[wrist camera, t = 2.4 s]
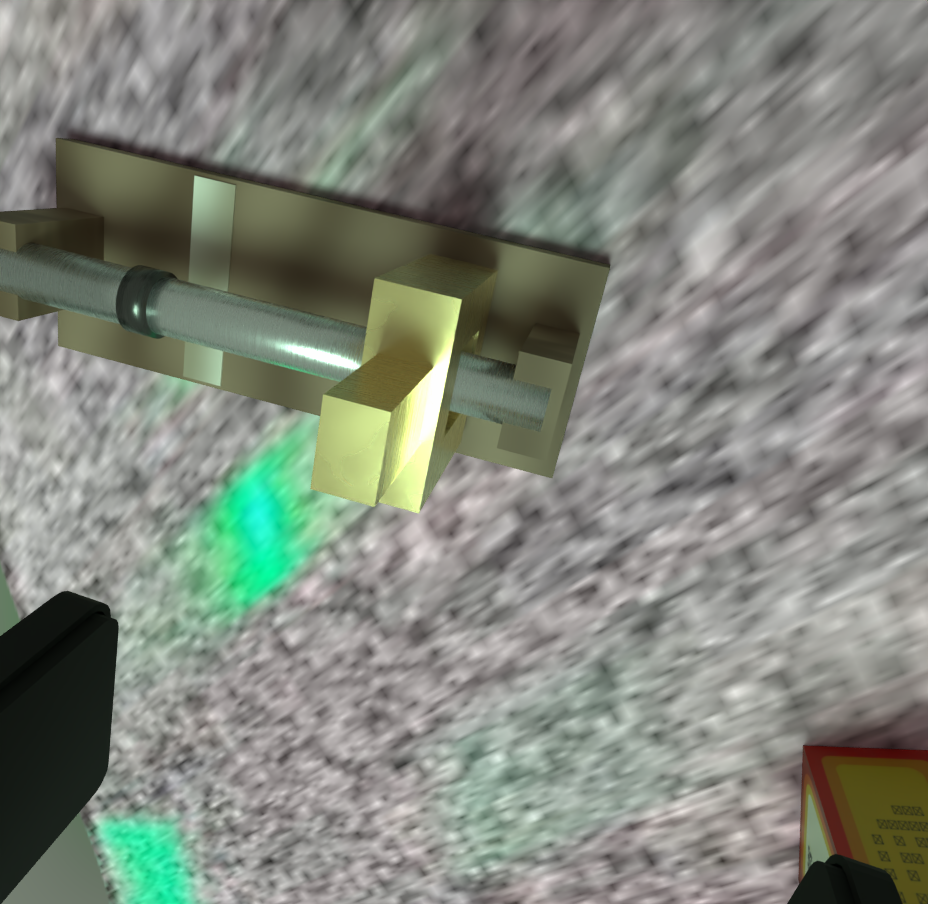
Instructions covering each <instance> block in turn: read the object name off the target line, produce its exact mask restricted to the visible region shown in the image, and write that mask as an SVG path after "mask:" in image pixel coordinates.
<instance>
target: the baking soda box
mask: <svg viewBox="0 0 928 904" xmlns="http://www.w3.org/2000/svg"><path fill="white" fill-rule="evenodd" d="M834 854H839V855H842V856H845V857H848V858H851V859H854V860H857V861H860V862H863V863H866V864H869V865H872V866H875V867H878V868H881V869H883V870H885V871H886V872H887V873H889V874H890V876H891V877H892V879H893V881H894V883H895V885H896V888H897V890H898V893H899V896H900V898H901V901H902V903H903V904H928V750H906V749H879V748H853V747H827V746H803V763H802V792H801V821H800V850H799V879H798V880H799V884H800V882H801V880H802V879H803V877H804V876H805V874H806V872H807V871H808V869H809V867H810V866H811V865H812V864H813V862H815V861H821V862H824V863H825V862H826V860H827V859H828V858H829V857H830V856H832V855H834Z"/></svg>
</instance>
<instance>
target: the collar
mask: <svg viewBox="0 0 928 904" xmlns="http://www.w3.org/2000/svg"><path fill="white" fill-rule="evenodd" d="M497 275H498V270H496V269H491V268H487V267H483V266H479V265H475V264H471V263H466V262H462V261H458V260H454V259H450V258H445V257H441V256H437V255H433V254H429V255H427V256H425V257H422V258H420V259H418V260H415V261H413V262H411V263H408V264H406V265H404V266H402V267H399V268H397V269H395V270H392V271H390V272H388V273H385V274H383V275H381V276H378V277H376V278H374V285H373V291H372V298H371V304H370V311H369V318H368V324H367V331H366V337H365V344H364V350H363V357H362V363H361V367H359V368H358V369H357V370H355V371H354V372H353V373H351V374H350V375H349V376H347V377H346V378H345V379H343V380H342V381H341V382H339V383H338V384H336V385H335V386H334V387H332V388H331V389H330V390H328V391H327V392H326V393H324V394H323V400H322V407H321V414H320V422H319V429H318V437H317V444H316V452H315V459H314V466H313V474H312V481H311V489H313V490H316V491H320V492H323V493H327V494H330V495H334V496H338V497H341V498H345V499H348V500H352V501H355V502H359V503H363V504H366V505H370V506H373V507H375V506H376V504H377V503H378V502H380V503H384V504H387V505H391V506H395V507H398V508H402V509H405V510H409V511H412V512H416V513H419V512H420V510H421V509H422V507H423V505H424V504H425V502H426V500H427V499H428V497H429V495H430V494H431V492H432V490H433V489H434V487H435V485H436V483H437V482H438V480H439V478H440V477H441V475H442V473H443V472H444V470H445V468H446V467H447V465H448V463H449V462H450V460H451V458H452V456H453V455H454V453H455V451H456V450H457V448H458V446H459V445H460V443H461V440H462V436H463V431H464V426H465V422H466V417H467V415H464V414H460V413H456V412H453V411H449V409H450V404H451V399H452V395H453V390H454V385H455V380H456V375H457V370H458V366H459V361H460V356H461V351H464V352H468V353H472V354H476V355H480V353H481V348H482V344H483V339H484V334H485V330H486V325H487V321H488V316H489V311H490V307H491V302H492V298H493V293H494V288H495V284H496V279H497Z"/></svg>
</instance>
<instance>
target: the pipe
mask: <svg viewBox="0 0 928 904" xmlns="http://www.w3.org/2000/svg"><path fill="white" fill-rule="evenodd" d="M0 291H3V292H7V293H11V294H15V295H18V296H19V297H21V298H23V299H26V300H29V301H33V302H37V303H41V304H45V305H48V306H52V307H56V308H60V309H64V310H68V311H71V312H75V313H79V314H83V315H87V316H90V317H94V318H98V319H102V320H106V321H109V322H113V323H117V324H120V325H121V326H122V327H123V329H125V330H126V331H129V332H132V333H136V334H140V335H144V336H148V337H151V338H155V339H160V338H163V337H165V336H167V337H170V338H174V339H178V340H182V341H186V342H190V343H193V344H197V345H201V346H205V347H209V348H212V349H216V350H220V351H224V352H228V353H232V354H235V355H239V356H243V357H247V358H251V359H254V360H258V361H262V362H266V363H270V364H273V365H277V366H281V367H285V368H289V369H293V370H296V371H300V372H304V373H308V374H312V375H315V376H319V377H323V378H327V379H331V380H334V381H338V382H341V381H342V380H343V379H345V378H346V377H347V376H349V375H350V374H351V373H353V372H354V371H355V370H357V369H358V368H359V367H361V363H362V357H363V350H364V344H365V337H366V331H367V327H365V326H361V325H357V324H353V323H349V322H345V321H341V320H337V319H333V318H329V317H325V316H321V315H317V314H313V313H309V312H305V311H301V310H298V309H294V308H290V307H286V306H282V305H278V304H274V303H270V302H266V301H262V300H258V299H254V298H250V297H246V296H242V295H238V294H234V293H230V292H226V291H222V290H218V289H214V288H211V287H207V286H203V285H199V284H195V283H191V282H187V281H183V280H179V279H177V277H176V276H175V275H174V274H173V273H171V272H167V271H163V270H159V269H155V268H151V267H147V266H143V265H137V266H134V267H132V268H131V267H127V266H123V265H120V264H116V263H112V262H108V261H104V260H100V259H96V258H92V257H88V256H84V255H80V254H76V253H72V252H68V251H64V250H60V249H56V248H52V247H48V246H44V245H40V244H36V243H28V244H25V245H23V246H22V247H21V248H19V250H18V251H17V252H13V251H9V250H5V249H1V248H0ZM515 369H516V365H515V364H511V363H507V362H503V361H499V360H495V359H491V358H487V357H483V356H480V355H476V354H472V353H468V352H464V351H461V356H460V361H459V366H458V370H457V375H456V380H455V385H454V390H453V395H452V399H451V404H450V409H449V411H453V412H456V413H460V414H464V415H468V416H472V417H476V418H479V419H483V420H487V421H491V422H495V423H498V424H503V422H504V423H507V424H511V425H515V426H519V427H523V428H527V429H530V430H534V431H538V432H541V428H542V424H543V420H544V416H545V413H546V409H547V405H548V401H549V397H550V393H551V390H552V389H550V388H546V387H542V386H538V385H534V384H530V383H526V382H522V381H519V380H515V379H513V377H514V373H515Z"/></svg>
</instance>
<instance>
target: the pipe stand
mask: <svg viewBox="0 0 928 904" xmlns="http://www.w3.org/2000/svg"><path fill="white" fill-rule="evenodd" d="M56 196H57V208H50V209H35V210H20V211H4V212H0V248H1V249H5V250H9V251H13V252H17V251H18V250H19V248H21V247H22V246H23V245H25V244H28V243H36V244H40V245H44V246H48V247H52V248H56V249H60V250H64V251H68V252H72V253H76V254H80V255H84V256H88V257H92V258H96V259H100V260H104V261H108V262H112V263H116V264H120V265H123V266H127V267H131V268H132V267H134V266H137V265H143V266H147V267H151V268H155V269H159V270H163V271H167V272H171V273H173V274H174V275H175V276H176V277H177V279H179V280H183V281H187V282H191V283H195V284H199V285H203V286H207V287H211V288H214V289H218V290H222V291H226V292H230V293H234V294H238V295H242V296H246V297H250V298H254V299H258V300H262V301H266V302H270V303H274V304H278V305H282V306H286V307H290V308H294V309H298V310H301V311H305V312H309V313H313V314H317V315H321V316H325V317H329V318H333V319H337V320H341V321H345V322H349V323H353V324H357V325H361V326H365V327H367V324H368V318H369V311H370V304H371V298H372V291H373V285H374V278H376V277H378V276H381V275H383V274H385V273H388V272H390V271H392V270H395V269H397V268H399V267H402V266H404V265H406V264H408V263H411V262H413V261H415V260H418V259H420V258H422V257H425V256H427V255H429V254H433V255H437V256H441V257H445V258H450V259H454V260H458V261H462V262H466V263H471V264H475V265H479V266H483V267H487V268H491V269H496V270H498V275H497V279H496V284H495V288H494V293H493V298H492V302H491V307H490V311H489V316H488V321H487V325H486V330H485V334H484V339H483V344H482V348H481V353H480V356H483V357H487V358H491V359H495V360H499V361H503V362H507V363H511V364H515V365H516V369H515V373H514V377H513V379H515V380H519V381H522V382H526V383H530V384H534V385H538V386H542V387H546V388H550V389H552V390H551V393H550V397H549V401H548V405H547V409H546V413H545V416H544V420H543V424H542V428H541V432H538V431H534V430H530V429H527V428H523V427H519V426H515V425H511V424H507V423H504V422H503V424H498V423H495V422H491V421H487V420H483V419H479V418H476V417H472V416H468V415H467V417H466V422H465V426H464V431H463V436H462V440H461V443H460V445H459V446H458V448H457V450H456V451H455V452H456V453H460V454H464V455H467V456H471V457H475V458H478V459H482V460H486V461H490V462H493V463H497V464H501V465H505V466H508V467H512V468H516V469H519V470H523V471H527V472H531V473H534V474H538V475H542V476H546V477H549V478H552V477H553V473H554V470H555V466H556V462H557V459H558V455H559V451H560V448H561V444H562V441H563V437H564V433H565V430H566V426H567V422H568V419H569V415H570V411H571V408H572V404H573V401H574V397H575V393H576V390H577V386H578V382H579V379H580V375H581V372H582V368H583V364H584V361H585V357H586V353H587V350H588V346H589V342H590V339H591V335H592V332H593V328H594V324H595V321H596V317H597V313H598V310H599V306H600V303H601V299H602V295H603V292H604V288H605V284H606V281H607V277H608V273H609V270H610V265H608V264H604V263H600V262H595V261H591V260H587V259H583V258H578V257H574V256H570V255H566V254H561V253H557V252H553V251H548V250H544V249H540V248H536V247H531V246H527V245H523V244H519V243H514V242H510V241H506V240H502V239H497V238H493V237H489V236H485V235H480V234H476V233H472V232H467V231H463V230H459V229H455V228H450V227H446V226H442V225H438V224H433V223H429V222H425V221H421V220H416V219H412V218H408V217H403V216H399V215H395V214H391V213H386V212H382V211H378V210H374V209H369V208H365V207H361V206H357V205H352V204H348V203H344V202H340V201H335V200H331V199H327V198H322V197H318V196H314V195H310V194H305V193H301V192H297V191H293V190H288V189H284V188H280V187H276V186H271V185H267V184H263V183H259V182H254V181H250V180H246V179H241V178H237V177H233V176H229V175H224V174H220V173H216V172H212V171H207V170H203V169H199V168H195V167H190V166H186V165H182V164H178V163H173V162H169V161H165V160H160V159H156V158H152V157H148V156H143V155H139V154H135V153H131V152H126V151H122V150H118V149H114V148H109V147H105V146H101V145H97V144H92V143H88V142H84V141H79V140H75V139H63V138H56ZM57 311H58V346H61V347H65V348H68V349H72V350H76V351H80V352H83V353H87V354H91V355H95V356H98V357H102V358H106V359H109V360H113V361H117V362H121V363H124V364H128V365H132V366H136V367H139V368H143V369H147V370H150V371H154V372H158V373H162V374H165V375H169V376H173V377H177V378H180V379H184V380H188V381H191V382H195V383H199V384H203V385H206V386H210V387H214V388H218V389H221V390H225V391H229V392H232V393H236V394H240V395H244V396H247V397H251V398H255V399H259V400H262V401H266V402H270V403H273V404H277V405H281V406H285V407H288V408H292V409H296V410H300V411H303V412H307V413H311V414H314V415H318V416H320V414H321V407H322V400H323V394H324V393H326V392H327V391H328V390H330V389H331V388H332V387H334V386H335V385H336V384H338V383H339V382H338V381H334V380H331V379H327V378H323V377H319V376H315V375H312V374H308V373H304V372H300V371H296V370H293V369H289V368H285V367H281V366H277V365H273V364H270V363H266V362H262V361H258V360H254V359H251V358H247V357H243V356H239V355H235V354H232V353H228V352H224V351H220V350H216V349H212V348H209V347H205V346H201V345H197V344H193V343H190V342H186V341H182V340H178V339H174V338H170V337H167V336H165V337H163V338H160V339H155V338H151V337H148V336H144V335H140V334H136V333H132V332H129V331H126V330H125V329H123V327H122V326H121V325H120V324H117V323H113V322H109V321H106V320H102V319H98V318H94V317H90V316H87V315H83V314H79V313H75V312H71V311H68V310H64V309H60V308H56V307H52V306H48V305H45V304H41V303H37V302H33V301H29V300H26V299H23V298H21V297H19V296H18V295H15V294H11V293H7V292H3V291H0V316H2V317H6V318H9V319H13V320H17V321H20V320H24V319H28V318H32V317H36V316H40V315H44V314H48V313H52V312H57Z"/></svg>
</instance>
